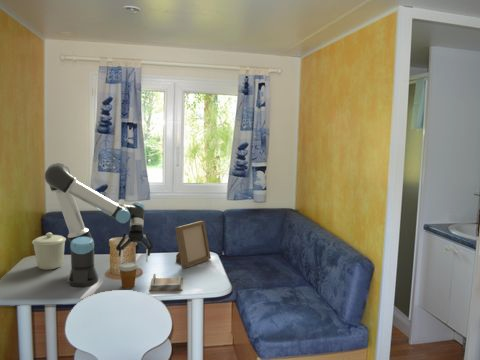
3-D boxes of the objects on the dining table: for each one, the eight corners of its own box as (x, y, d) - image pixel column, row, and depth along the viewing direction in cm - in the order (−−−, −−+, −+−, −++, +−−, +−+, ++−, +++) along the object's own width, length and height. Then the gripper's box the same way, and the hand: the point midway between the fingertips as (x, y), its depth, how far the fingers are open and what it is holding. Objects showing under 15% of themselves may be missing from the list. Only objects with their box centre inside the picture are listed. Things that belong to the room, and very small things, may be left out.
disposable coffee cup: (130, 281, 216) (130, 260, 215) (141, 285, 210) (141, 264, 209) (115, 286, 209) (115, 264, 208) (126, 291, 203) (125, 268, 202)
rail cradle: (148, 291, 203) (148, 285, 203) (151, 279, 219) (151, 274, 219) (182, 290, 206) (182, 284, 205) (182, 278, 221) (182, 273, 221)
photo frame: (210, 260, 254) (210, 222, 250) (186, 269, 236) (186, 228, 233) (194, 255, 262) (194, 218, 259) (169, 263, 245) (169, 224, 242)
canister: (54, 273, 224) (52, 237, 222) (26, 270, 228) (24, 235, 225) (73, 263, 242) (72, 229, 239) (46, 260, 245) (45, 227, 242)
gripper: (158, 230, 233) (157, 263, 220) (115, 230, 229) (111, 264, 217) (158, 223, 227) (156, 257, 214) (113, 224, 223) (109, 259, 211)
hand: (133, 261), depth 216 cm, fingers open, 13 cm apart
